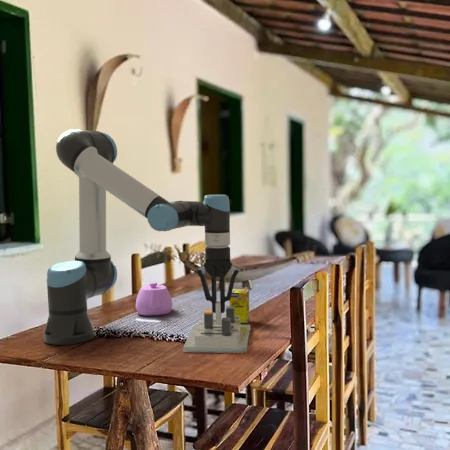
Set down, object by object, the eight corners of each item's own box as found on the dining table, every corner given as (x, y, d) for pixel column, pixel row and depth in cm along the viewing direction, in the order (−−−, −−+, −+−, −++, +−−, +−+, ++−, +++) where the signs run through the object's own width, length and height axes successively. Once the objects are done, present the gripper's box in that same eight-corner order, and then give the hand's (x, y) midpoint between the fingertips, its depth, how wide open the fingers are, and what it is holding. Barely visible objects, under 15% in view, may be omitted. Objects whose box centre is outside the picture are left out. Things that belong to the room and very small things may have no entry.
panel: (183, 352, 163) (183, 338, 163) (195, 328, 187) (195, 316, 187) (246, 353, 162) (246, 338, 161) (250, 329, 186) (250, 316, 185)
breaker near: (221, 333, 165) (221, 320, 165) (222, 330, 168) (222, 317, 168) (230, 334, 165) (229, 320, 165) (231, 331, 168) (230, 317, 168)
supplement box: (247, 325, 190) (246, 293, 189) (229, 324, 192) (228, 292, 190) (249, 320, 196) (249, 289, 195) (232, 319, 197) (232, 288, 196)
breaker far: (226, 321, 179) (226, 308, 179) (227, 318, 182) (226, 306, 182) (233, 321, 179) (233, 308, 179) (234, 318, 182) (234, 306, 182)
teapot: (136, 321, 198) (135, 289, 197) (134, 307, 217) (133, 278, 216) (175, 318, 200) (174, 287, 199) (170, 305, 220) (169, 277, 219)
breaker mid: (204, 327, 173) (204, 312, 172) (205, 324, 176) (205, 310, 175) (212, 327, 173) (212, 312, 172) (213, 324, 176) (213, 310, 175)
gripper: (194, 247, 169) (195, 326, 171) (238, 247, 167) (239, 326, 170) (197, 244, 176) (199, 319, 178) (240, 244, 175) (240, 320, 177)
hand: (218, 323), depth 174 cm, fingers closed
